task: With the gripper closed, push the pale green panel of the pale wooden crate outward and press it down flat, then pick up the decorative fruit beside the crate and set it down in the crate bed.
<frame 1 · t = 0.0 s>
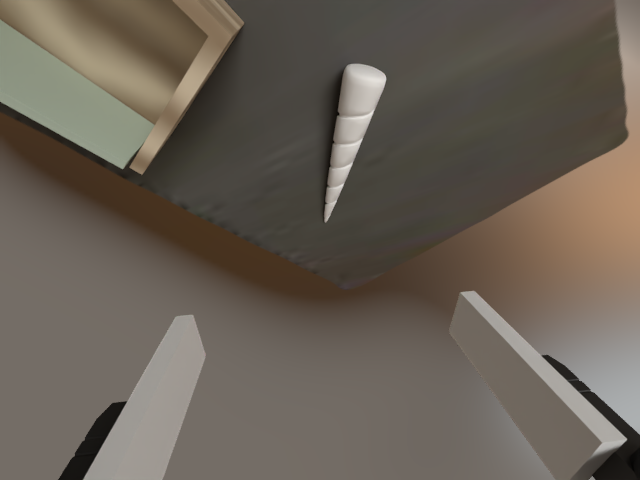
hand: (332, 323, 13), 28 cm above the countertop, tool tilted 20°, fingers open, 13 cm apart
pale green panel: (6, 65, 22), point 5 cm above the countertop, hinge at 0.0°
unicorn horn: (342, 152, 37), on the countertop
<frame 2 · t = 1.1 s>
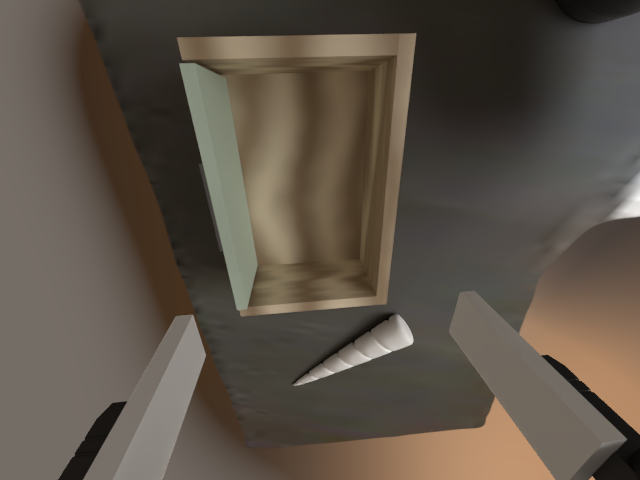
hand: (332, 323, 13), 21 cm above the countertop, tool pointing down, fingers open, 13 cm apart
crate: (305, 181, 30), on the countertop
pale green panel: (228, 198, 25), point 5 cm above the countertop, hinge at 0.0°
unicorn horn: (348, 348, 45), on the countertop
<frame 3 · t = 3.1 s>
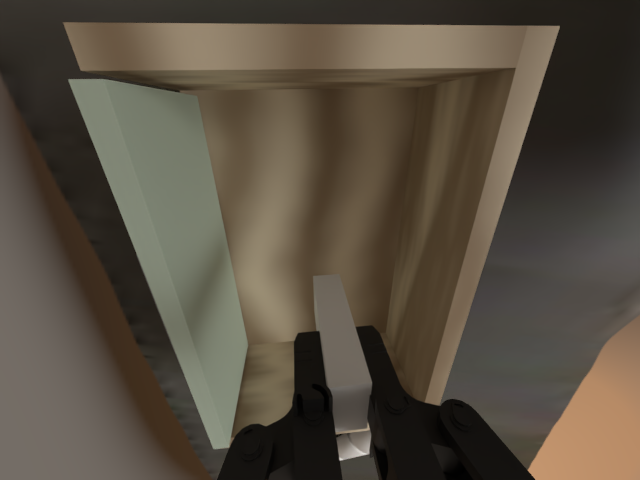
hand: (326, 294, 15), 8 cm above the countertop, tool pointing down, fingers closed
crate: (316, 237, 22), on the countertop
pale green panel: (200, 282, 16), point 5 cm above the countertop, hinge at 0.0°
unicorn horn: (362, 425, 36), on the countertop
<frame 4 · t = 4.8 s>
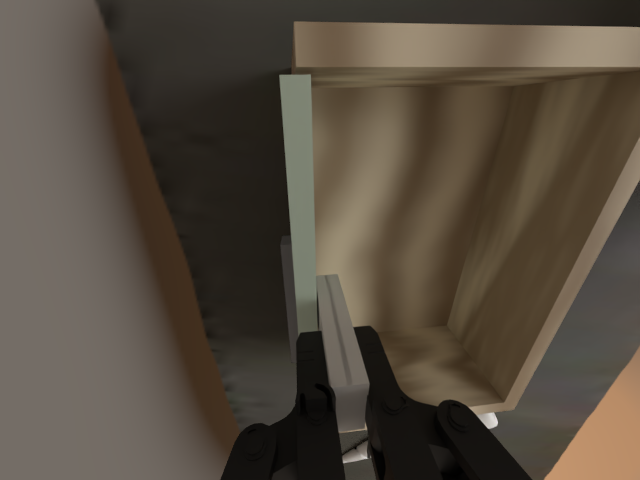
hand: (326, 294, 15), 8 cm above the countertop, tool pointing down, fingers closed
crate: (392, 232, 22), on the countertop
pale green panel: (302, 274, 17), point 5 cm above the countertop, hinge at 3.9°, touching gripper
unicorn horn: (406, 419, 37), on the countertop
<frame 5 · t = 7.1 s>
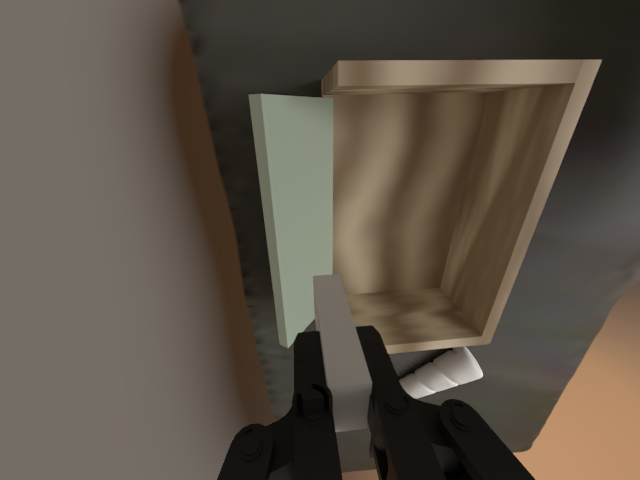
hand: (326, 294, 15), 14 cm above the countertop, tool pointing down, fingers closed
crate: (395, 207, 28), on the countertop
pale green panel: (301, 229, 23), point 5 cm above the countertop, hinge at 38.0°
unicorn horn: (406, 378, 43), on the countertop
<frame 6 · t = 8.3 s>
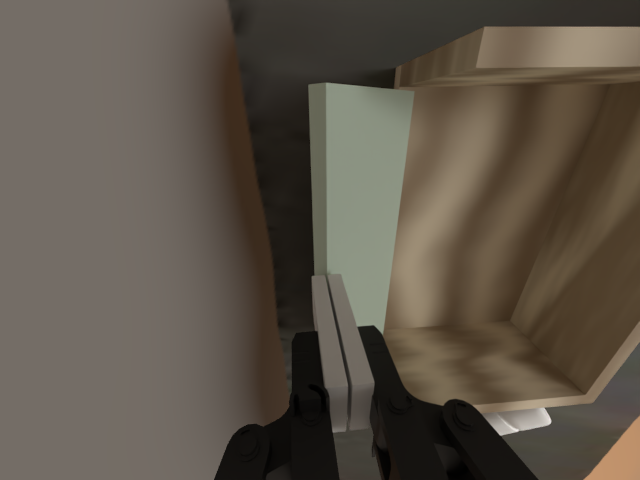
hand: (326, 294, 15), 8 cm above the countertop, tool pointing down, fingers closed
crate: (467, 227, 23), on the countertop
pale green panel: (357, 258, 18), point 4 cm above the countertop, hinge at 46.3°, touching gripper
unicorn horn: (451, 416, 37), on the countertop
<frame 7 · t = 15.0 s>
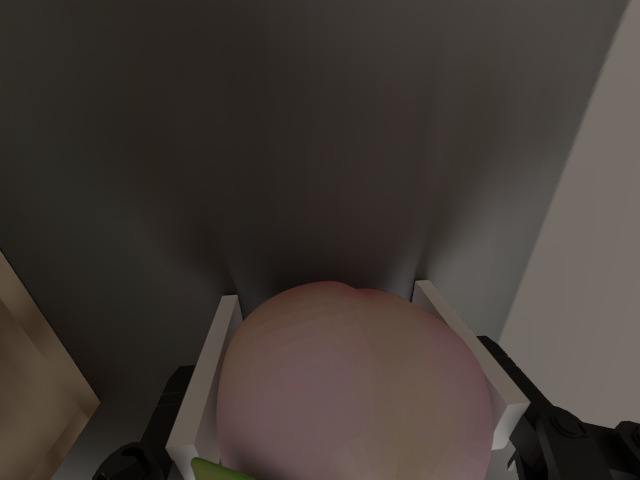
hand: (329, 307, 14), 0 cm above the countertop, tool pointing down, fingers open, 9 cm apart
decorative fruit: (327, 304, 14), on the countertop, touching gripper
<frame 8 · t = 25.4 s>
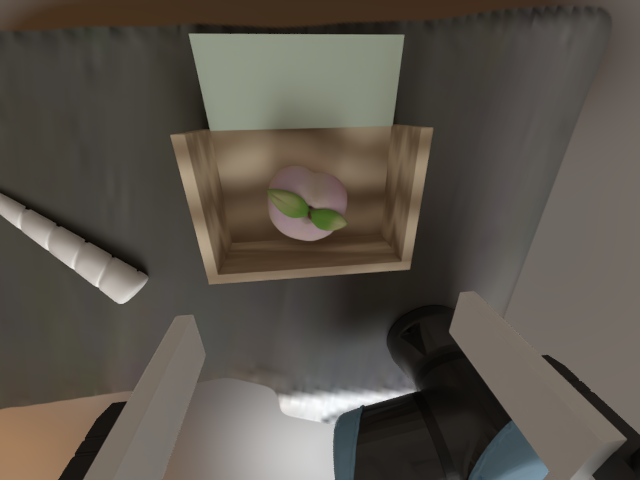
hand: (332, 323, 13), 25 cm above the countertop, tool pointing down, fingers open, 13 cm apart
crate: (306, 190, 35), on the countertop
pale green panel: (302, 85, 28), point 2 cm above the countertop, hinge at 84.6°
unicorn horn: (70, 237, 35), on the countertop
decorative fruit: (304, 192, 34), point 1 cm above the countertop, touching crate
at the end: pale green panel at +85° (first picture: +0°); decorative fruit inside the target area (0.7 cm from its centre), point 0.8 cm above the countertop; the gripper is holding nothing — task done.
